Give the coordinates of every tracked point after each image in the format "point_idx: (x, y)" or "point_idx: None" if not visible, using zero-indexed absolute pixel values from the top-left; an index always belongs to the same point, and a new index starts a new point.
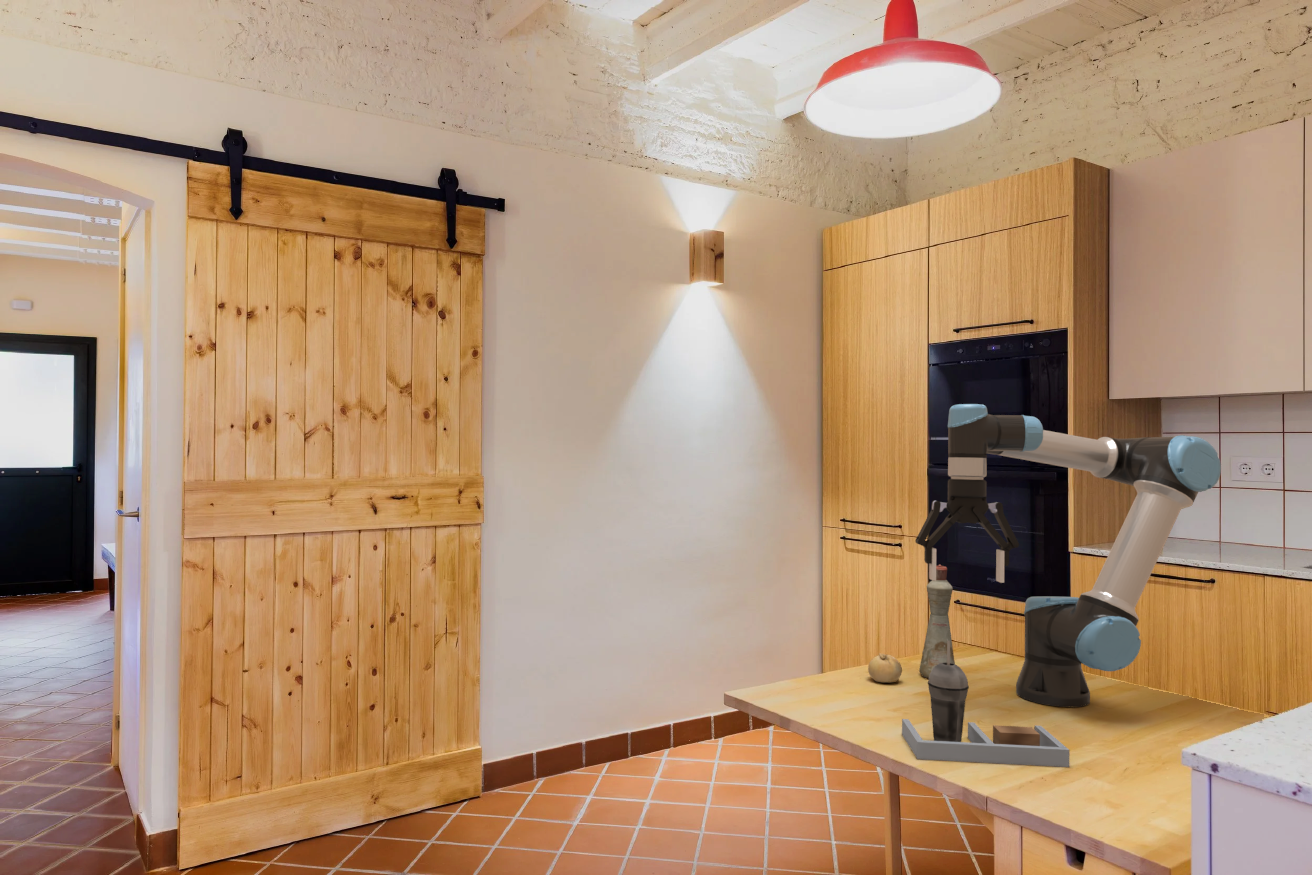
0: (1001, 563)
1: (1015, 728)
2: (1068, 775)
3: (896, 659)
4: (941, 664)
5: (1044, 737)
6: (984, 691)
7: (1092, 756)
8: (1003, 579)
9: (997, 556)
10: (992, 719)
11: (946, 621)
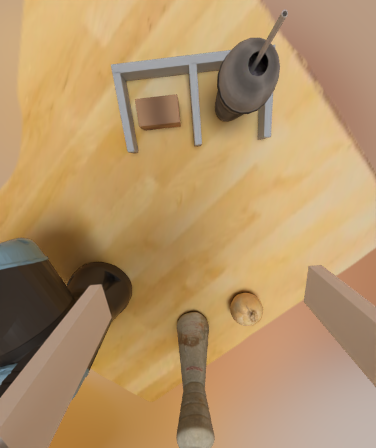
0: (55, 345)
1: (157, 115)
2: (122, 43)
3: (238, 317)
4: (270, 60)
5: (129, 121)
6: (158, 291)
7: (91, 117)
8: (86, 291)
9: (54, 408)
10: (166, 211)
11: (186, 374)
